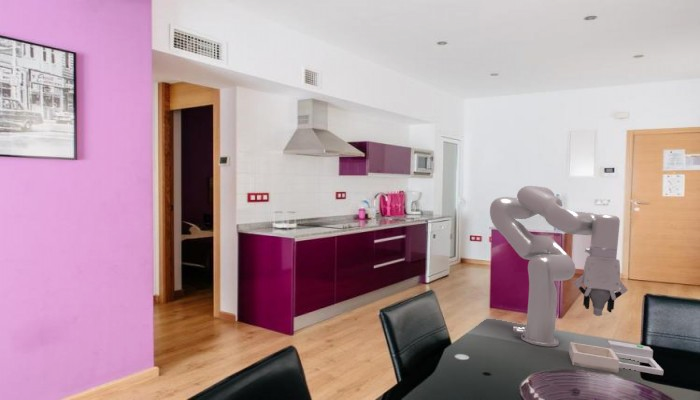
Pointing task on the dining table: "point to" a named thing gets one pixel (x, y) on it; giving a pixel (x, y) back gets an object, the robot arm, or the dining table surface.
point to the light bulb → (599, 300)
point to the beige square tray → (593, 357)
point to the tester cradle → (635, 356)
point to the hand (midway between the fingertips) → (597, 309)
